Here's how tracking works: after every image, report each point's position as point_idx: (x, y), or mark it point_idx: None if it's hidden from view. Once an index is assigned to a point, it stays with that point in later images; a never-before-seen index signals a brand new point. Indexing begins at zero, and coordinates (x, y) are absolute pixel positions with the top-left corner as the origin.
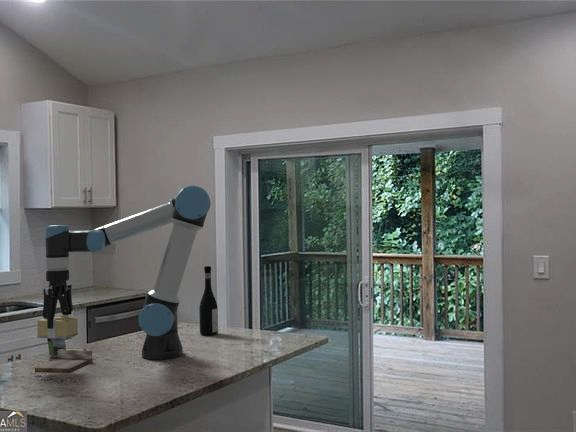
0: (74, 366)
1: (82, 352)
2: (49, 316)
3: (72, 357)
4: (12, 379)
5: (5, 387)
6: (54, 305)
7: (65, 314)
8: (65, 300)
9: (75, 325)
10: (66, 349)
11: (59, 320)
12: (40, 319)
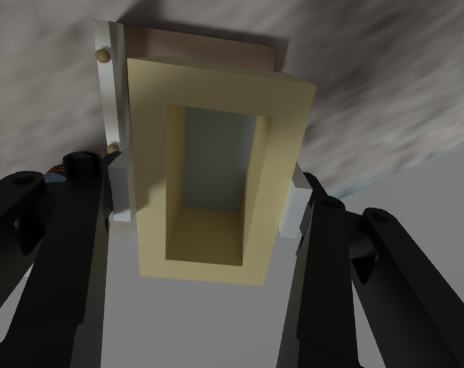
0: (243, 42)
1: (116, 64)
2: (391, 217)
3: (127, 107)
4: (332, 186)
5: (411, 167)
6: (351, 280)
7: (109, 192)
8: (73, 282)
9: (178, 61)
10: (110, 142)
11: (270, 163)
12: (233, 283)
